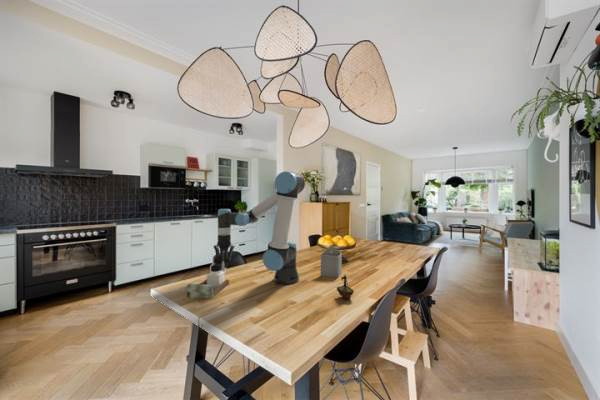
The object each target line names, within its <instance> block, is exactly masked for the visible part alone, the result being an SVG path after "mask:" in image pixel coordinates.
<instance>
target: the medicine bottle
mask: <svg viewBox="0 0 600 400" xmlns="http://www.w3.org/2000/svg"><path fill="white" fill-rule="evenodd" d="M206 279H207V285H214V289H215V288H216V287H218V286H219V285H220V284H221V283H223V282H224V281H225V273H224V271H222V268H221V263H211V265H210V267H209V273H207V275H206Z"/></svg>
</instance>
